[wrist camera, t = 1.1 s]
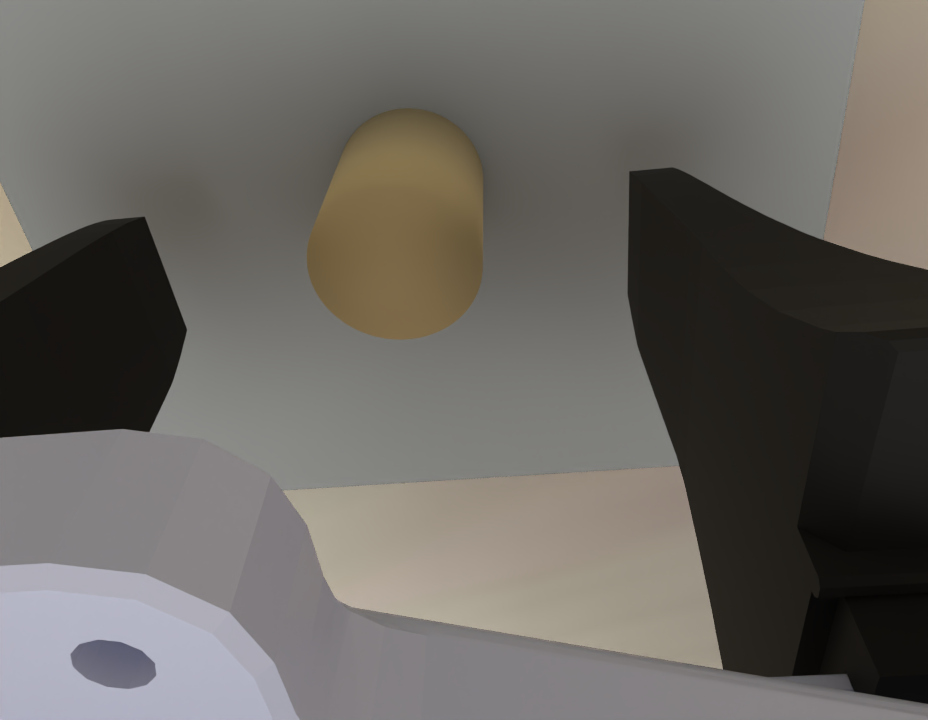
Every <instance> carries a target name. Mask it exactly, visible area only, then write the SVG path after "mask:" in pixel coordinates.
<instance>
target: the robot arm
mask: <svg viewBox="0 0 928 720" xmlns="http://www.w3.org/2000/svg"><path fill="white" fill-rule="evenodd" d="M627 294H628V300H629V305H630V311H631V316H632V322H633V327H634V332H635V337H636V341H637V346H638V349H639V352H640V355H641V358H642V361H643V364H644V367H645V369H646V372H647V375H648V378H649V381H650V384H651V386H652V389H653V392H654V395H655V398H656V400H657V403H658V406H659V409H660V412H661V414H662V417H663V420H664V423H665V426H666V428H667V431H668V434H669V437H670V439H671V442H672V445H673V448H674V451H675V453H676V456H677V459H678V463H679V466H680V469H681V473H682V476H683V480H684V483H685V487H686V492H687V496H688V501H689V505H690V510H691V514H692V519H693V523H694V527H695V532H696V536H697V541H698V546H699V550H700V555H701V560H702V565H703V570H704V574H705V579H706V584H707V589H708V593H709V598H710V603H711V608H712V614H713V619H714V624H715V629H716V634H717V639H718V645H719V650H720V655H721V660H722V665H723V670H722V669H716V668H710V667H704V666H698V665H692V664H686V663H680V662H674V661H668V660H662V659H656V658H650V657H644V656H638V655H632V654H626V653H620V652H614V651H608V650H602V649H596V648H591V647H585V646H579V645H573V644H567V643H561V642H555V641H549V640H543V639H537V638H531V637H525V636H519V635H513V634H507V633H501V632H495V631H489V630H483V629H477V628H471V627H465V626H459V625H453V624H447V623H441V622H435V621H429V620H423V619H418V618H412V617H406V616H400V615H394V614H388V613H382V612H376V611H370V610H364V609H358V608H352V607H350V606H348V605H346V604H344V603H342V602H340V601H338V600H337V599H336V598H335V597H334V595H333V593H332V591H331V590H330V588H329V586H328V584H327V582H326V580H325V578H324V576H323V573H322V570H321V567H320V564H319V561H318V558H317V555H316V552H315V548H314V545H313V542H312V539H311V536H310V533H309V530H308V527H307V524H306V523H305V522H304V520H303V519H302V518H301V516H300V515H299V513H298V512H297V511H296V509H295V508H294V506H293V505H292V504H291V502H290V501H289V500H288V498H287V497H286V495H285V494H284V493H283V491H282V490H281V489H280V487H279V486H278V484H277V483H276V482H275V480H274V479H273V478H272V476H271V475H269V474H267V473H266V472H264V471H262V470H260V469H258V468H256V467H254V466H253V465H251V464H249V463H247V462H245V461H243V460H241V459H240V458H238V457H236V456H234V455H232V454H230V453H228V452H227V451H225V450H223V449H221V448H219V447H217V446H215V445H213V444H212V443H210V442H208V441H206V440H204V439H198V438H190V437H182V436H174V435H166V434H158V433H150V430H151V428H152V426H153V424H154V422H155V419H156V417H157V415H158V413H159V411H160V409H161V407H162V404H163V402H164V400H165V398H166V396H167V394H168V392H169V389H170V387H171V385H172V382H173V380H174V377H175V373H176V370H177V367H178V363H179V360H180V357H181V353H182V349H183V345H184V341H185V337H186V333H187V328H186V325H185V323H184V320H183V317H182V315H181V312H180V309H179V307H178V304H177V301H176V298H175V296H174V293H173V290H172V288H171V285H170V282H169V280H168V277H167V274H166V272H165V269H164V266H163V264H162V261H161V258H160V256H159V253H158V250H157V248H156V245H155V242H154V240H153V237H152V234H151V232H150V229H149V226H148V224H147V221H146V218H145V217H134V218H123V219H112V220H105V221H101V222H98V223H94V224H91V225H88V226H86V227H83V228H81V229H78V230H76V231H74V232H71V233H69V234H67V235H65V236H63V237H60V238H58V239H56V240H54V241H52V242H50V243H48V244H46V245H44V246H42V247H40V248H38V249H36V250H34V251H32V252H30V253H28V254H26V255H24V256H22V257H20V258H18V259H16V260H14V261H12V262H10V263H8V264H6V265H4V266H2V267H0V720H928V270H926V269H922V268H917V267H913V266H909V265H904V264H900V263H896V262H891V261H888V260H884V259H881V258H877V257H873V256H870V255H866V254H863V253H860V252H857V251H854V250H851V249H848V248H845V247H842V246H839V245H836V244H833V243H830V242H827V241H824V240H821V239H819V238H816V237H814V236H811V235H809V234H806V233H804V232H801V231H799V230H797V229H795V228H792V227H790V226H788V225H786V224H783V223H781V222H779V221H777V220H774V219H772V218H770V217H768V216H766V215H764V214H762V213H760V212H758V211H756V210H754V209H752V208H750V207H748V206H746V205H744V204H742V203H740V202H739V201H737V200H735V199H733V198H731V197H729V196H728V195H726V194H724V193H722V192H720V191H719V190H717V189H715V188H713V187H711V186H710V185H708V184H706V183H704V182H702V181H701V180H699V179H697V178H695V177H693V176H691V175H690V174H688V173H686V172H684V171H681V170H679V169H676V168H673V167H671V168H660V169H649V170H638V171H629V225H628V290H627Z"/></svg>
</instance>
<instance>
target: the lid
mask: <svg viewBox="0 0 928 720" xmlns="http://www.w3.org/2000/svg"><path fill="white" fill-rule="evenodd" d="M864 2H865V0H0V183H1V185H2V187H3V189H4V191H5V193H6V195H7V197H8V199H9V202H10V204H11V206H12V208H13V210H14V212H15V214H16V216H17V218H18V221H19V223H20V225H21V227H22V229H23V231H24V233H25V235H26V237H27V239H28V242H29V244H30V246H31V248H32V250H33V251H34V250H36V249H38V248H40V247H42V246H44V245H46V244H48V243H50V242H52V241H54V240H56V239H58V238H60V237H63V236H65V235H67V234H69V233H71V232H74V231H76V230H78V229H81V228H83V227H86V226H88V225H91V224H94V223H98V222H101V221H105V220H112V219H123V218H134V217H145V218H146V221H147V224H148V226H149V229H150V232H151V234H152V237H153V240H154V242H155V245H156V248H157V250H158V253H159V256H160V258H161V261H162V264H163V266H164V269H165V272H166V274H167V277H168V280H169V282H170V285H171V288H172V290H173V293H174V296H175V298H176V301H177V304H178V307H179V309H180V312H181V315H182V317H183V320H184V323H185V325H186V328H187V333H186V337H185V341H184V345H183V349H182V353H181V357H180V360H179V363H178V367H177V370H176V373H175V377H174V380H173V382H172V385H171V387H170V389H169V392H168V394H167V396H166V398H165V400H164V402H163V404H162V407H161V409H160V411H159V413H158V415H157V417H156V419H155V422H154V424H153V426H152V428H151V430H150V433H158V434H166V435H174V436H182V437H190V438H198V439H204V440H206V441H208V442H210V443H212V444H213V445H215V446H217V447H219V448H221V449H223V450H225V451H227V452H228V453H230V454H232V455H234V456H236V457H238V458H240V459H241V460H243V461H245V462H247V463H249V464H251V465H253V466H254V467H256V468H258V469H260V470H262V471H264V472H266V473H267V474H269V475H271V476H272V478H273V479H274V480H275V482H276V483H277V484H278V486H279V487H280V489H281V490H297V489H313V488H330V487H346V486H362V485H378V484H394V483H410V482H426V481H443V480H459V479H475V478H491V477H507V476H523V475H539V474H555V473H572V472H588V471H604V470H620V469H636V468H652V467H668V466H679V463H678V459H677V456H676V453H675V451H674V448H673V445H672V442H671V439H670V437H669V434H668V431H667V428H666V426H665V423H664V420H663V417H662V414H661V412H660V409H659V406H658V403H657V400H656V398H655V395H654V392H653V389H652V386H651V384H650V381H649V378H648V375H647V372H646V369H645V367H644V364H643V361H642V358H641V355H640V352H639V349H638V346H637V341H636V337H635V332H634V327H633V322H632V316H631V311H630V305H629V300H628V294H627V290H628V225H629V171H638V170H649V169H660V168H671V167H673V168H676V169H679V170H681V171H684V172H686V173H688V174H690V175H691V176H693V177H695V178H697V179H699V180H701V181H702V182H704V183H706V184H708V185H710V186H711V187H713V188H715V189H717V190H719V191H720V192H722V193H724V194H726V195H728V196H729V197H731V198H733V199H735V200H737V201H739V202H740V203H742V204H744V205H746V206H748V207H750V208H752V209H754V210H756V211H758V212H760V213H762V214H764V215H766V216H768V217H770V218H772V219H774V220H777V221H779V222H781V223H783V224H786V225H788V226H790V227H792V228H795V229H797V230H799V231H801V232H804V233H806V234H809V235H811V236H814V237H816V238H819V239H821V240H823V238H824V232H825V226H826V220H827V215H828V209H829V203H830V197H831V192H832V186H833V180H834V174H835V169H836V163H837V157H838V151H839V146H840V140H841V134H842V128H843V123H844V117H845V111H846V105H847V100H848V94H849V88H850V82H851V77H852V71H853V65H854V59H855V54H856V48H857V42H858V36H859V31H860V25H861V19H862V13H863V8H864Z"/></svg>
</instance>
